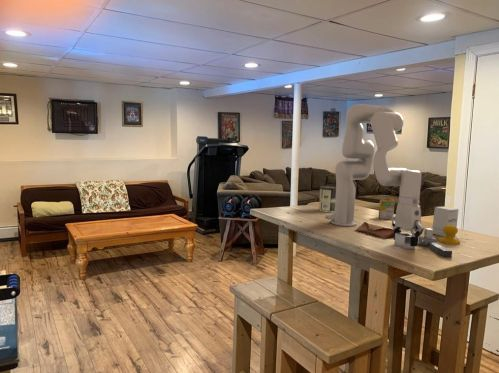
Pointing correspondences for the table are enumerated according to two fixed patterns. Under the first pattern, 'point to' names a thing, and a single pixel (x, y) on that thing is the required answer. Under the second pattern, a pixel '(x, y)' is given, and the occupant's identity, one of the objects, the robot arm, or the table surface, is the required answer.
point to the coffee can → (327, 198)
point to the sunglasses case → (376, 231)
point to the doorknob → (449, 235)
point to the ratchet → (433, 244)
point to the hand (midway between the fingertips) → (405, 242)
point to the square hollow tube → (403, 240)
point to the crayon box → (386, 208)
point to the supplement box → (444, 219)
